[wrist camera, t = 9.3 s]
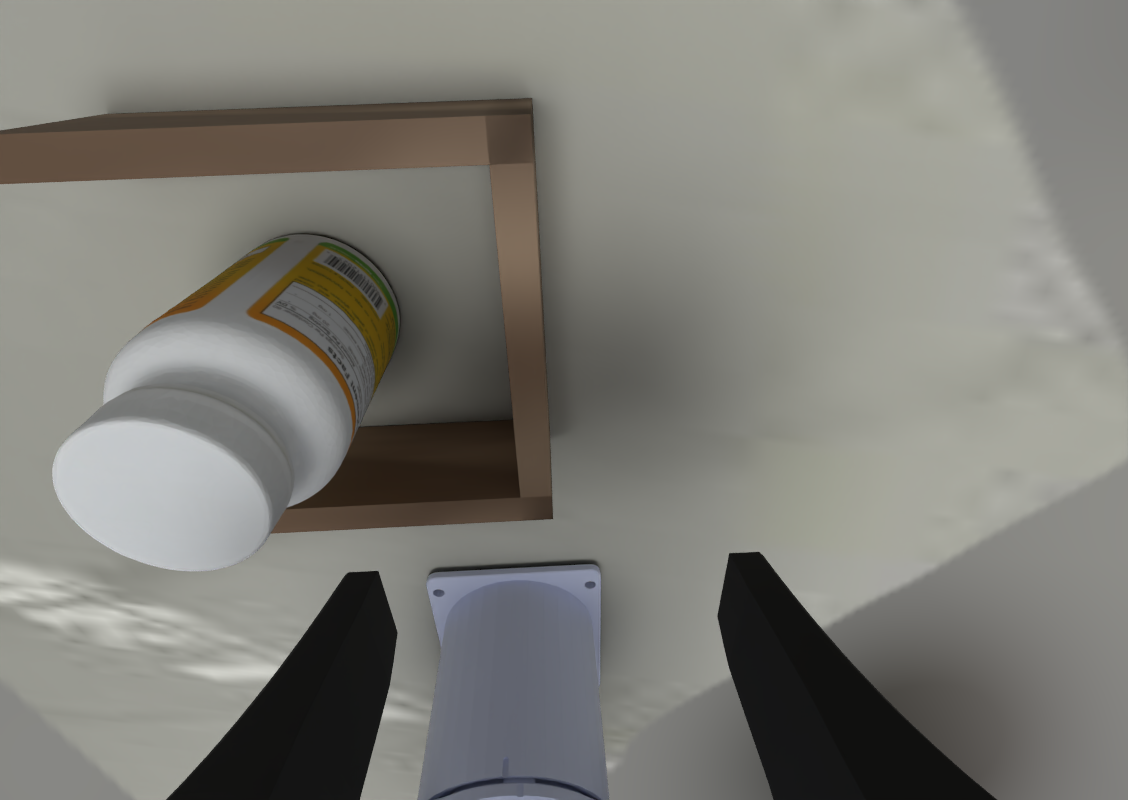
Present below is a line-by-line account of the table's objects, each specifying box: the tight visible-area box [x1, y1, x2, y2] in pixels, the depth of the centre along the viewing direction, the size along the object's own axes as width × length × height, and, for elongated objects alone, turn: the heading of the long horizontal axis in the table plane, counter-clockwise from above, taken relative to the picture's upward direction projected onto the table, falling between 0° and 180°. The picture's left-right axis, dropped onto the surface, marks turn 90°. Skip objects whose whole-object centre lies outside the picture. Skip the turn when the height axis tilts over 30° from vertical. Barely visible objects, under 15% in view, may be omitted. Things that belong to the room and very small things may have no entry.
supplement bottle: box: [52, 234, 400, 571], centre depth 15 cm, size 5×5×10 cm
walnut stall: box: [0, 98, 553, 533], centre depth 17 cm, size 12×12×4 cm
